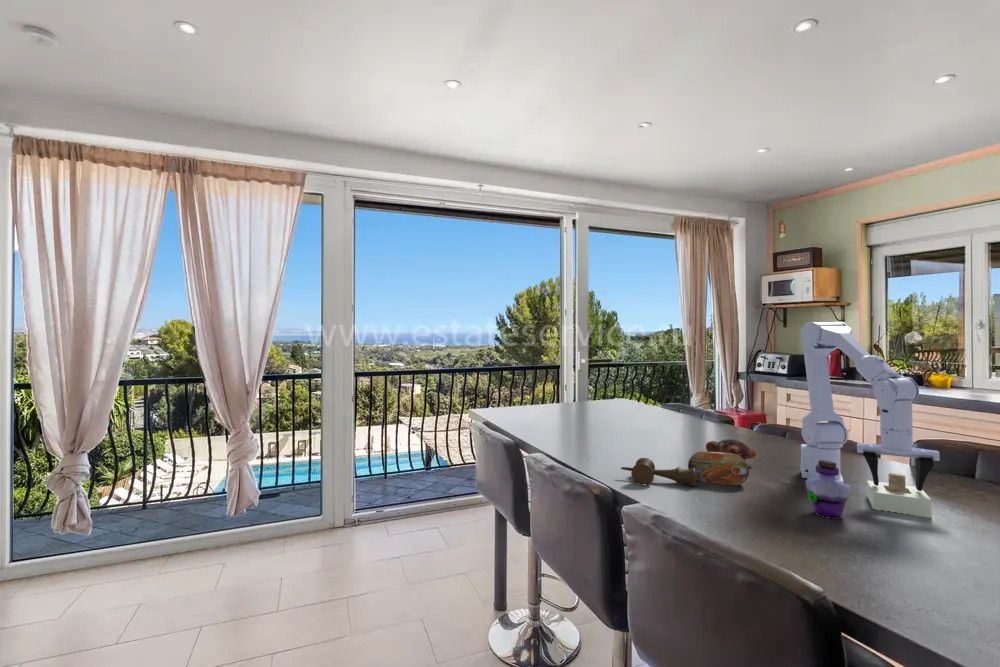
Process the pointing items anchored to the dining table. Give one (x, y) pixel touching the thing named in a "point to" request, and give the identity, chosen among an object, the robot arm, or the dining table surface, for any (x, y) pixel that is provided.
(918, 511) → the socket block
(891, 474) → the peg
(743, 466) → the tin
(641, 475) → the kendama
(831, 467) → the potion bottle
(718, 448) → the decorative turtle
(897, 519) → the dining table surface
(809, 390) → the robot arm
